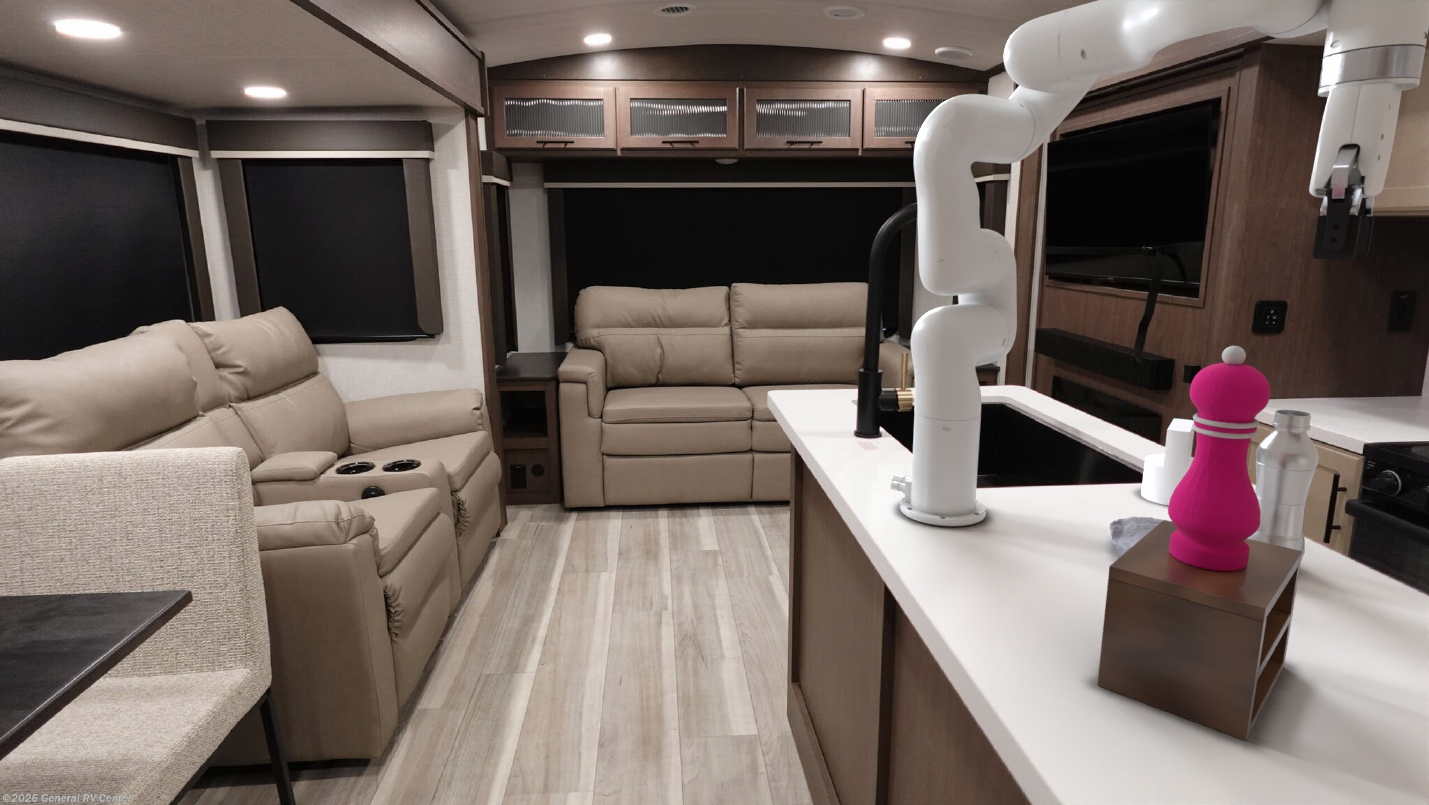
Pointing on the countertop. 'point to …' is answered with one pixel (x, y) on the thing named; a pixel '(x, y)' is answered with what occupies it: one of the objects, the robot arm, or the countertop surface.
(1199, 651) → the shelf
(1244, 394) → the pepper mill
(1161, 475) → the base with upright slab
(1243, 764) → the countertop surface
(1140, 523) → the stone block
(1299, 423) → the silver metal bottle
